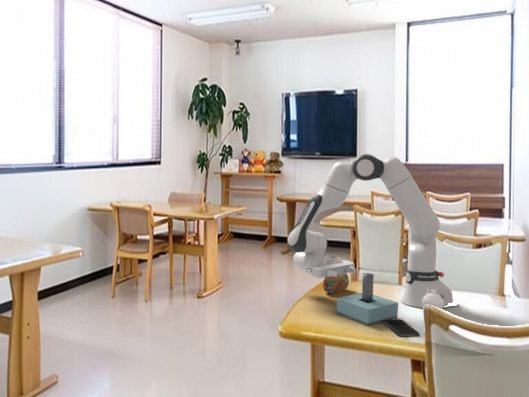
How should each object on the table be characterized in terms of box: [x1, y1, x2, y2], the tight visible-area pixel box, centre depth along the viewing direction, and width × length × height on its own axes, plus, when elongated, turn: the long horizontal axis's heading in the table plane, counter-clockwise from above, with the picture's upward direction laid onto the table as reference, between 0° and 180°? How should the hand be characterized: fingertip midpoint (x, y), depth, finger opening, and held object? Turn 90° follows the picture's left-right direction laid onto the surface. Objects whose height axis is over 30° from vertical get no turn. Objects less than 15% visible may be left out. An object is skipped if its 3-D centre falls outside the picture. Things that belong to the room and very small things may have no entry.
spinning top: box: [422, 290, 444, 309], centre depth 184 cm, size 8×8×12 cm
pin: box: [361, 272, 375, 303], centre depth 189 cm, size 4×4×15 cm
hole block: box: [336, 292, 399, 327], centre depth 189 cm, size 16×16×6 cm
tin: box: [322, 273, 350, 295], centre depth 222 cm, size 15×3×8 cm, turn 132°
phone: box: [382, 319, 421, 338], centre depth 176 cm, size 8×1×15 cm
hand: (346, 272), depth 198 cm, fingers open, 8 cm apart
